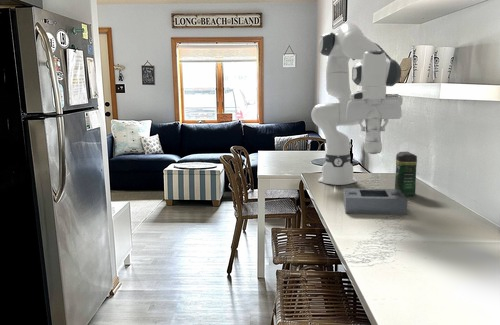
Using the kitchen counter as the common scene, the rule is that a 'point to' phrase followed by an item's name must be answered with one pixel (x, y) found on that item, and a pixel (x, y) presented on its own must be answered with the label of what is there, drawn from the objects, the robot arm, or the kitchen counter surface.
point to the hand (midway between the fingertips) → (372, 131)
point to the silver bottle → (373, 131)
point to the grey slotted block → (375, 201)
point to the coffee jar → (406, 173)
